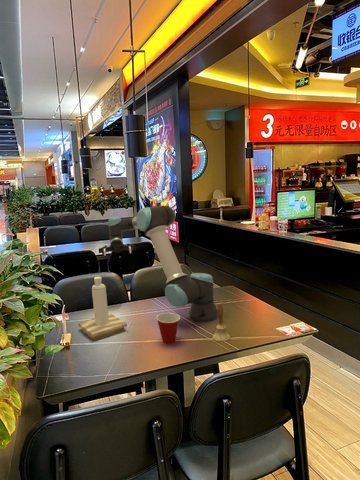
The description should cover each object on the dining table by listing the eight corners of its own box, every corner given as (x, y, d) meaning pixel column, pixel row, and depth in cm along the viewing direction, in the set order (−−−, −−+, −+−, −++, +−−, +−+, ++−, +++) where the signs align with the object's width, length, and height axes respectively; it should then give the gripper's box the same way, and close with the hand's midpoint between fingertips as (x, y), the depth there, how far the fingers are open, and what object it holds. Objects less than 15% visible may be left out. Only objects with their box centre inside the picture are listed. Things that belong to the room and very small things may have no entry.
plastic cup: (178, 347, 157) (177, 321, 155) (155, 346, 160) (153, 320, 157) (183, 336, 168) (182, 312, 166) (161, 335, 170) (159, 311, 168)
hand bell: (226, 343, 159) (224, 308, 156) (209, 339, 163) (207, 306, 161) (233, 335, 166) (232, 302, 163) (217, 332, 170) (216, 300, 168)
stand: (127, 330, 178) (126, 323, 177) (92, 342, 167) (92, 334, 167) (111, 320, 192) (110, 313, 191) (78, 330, 182) (78, 322, 181)
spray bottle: (97, 320, 183) (93, 272, 179) (110, 320, 182) (106, 272, 178) (93, 325, 176) (88, 276, 172) (106, 325, 176) (101, 276, 171)
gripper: (138, 249, 215) (141, 256, 194) (95, 253, 210) (94, 261, 190) (137, 237, 213) (140, 243, 193) (94, 240, 209) (93, 247, 188)
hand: (117, 252), depth 191 cm, fingers open, 13 cm apart
